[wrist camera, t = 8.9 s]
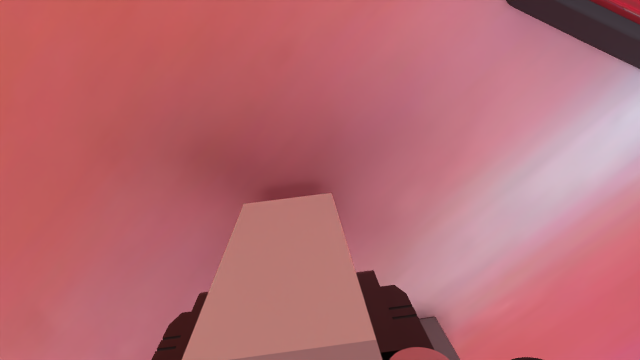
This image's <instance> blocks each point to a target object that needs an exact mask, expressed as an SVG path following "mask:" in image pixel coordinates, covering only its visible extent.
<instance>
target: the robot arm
mask: <svg viewBox="0 0 640 360" xmlns="http://www.w3.org/2000/svg"><path fill="white" fill-rule="evenodd" d="M356 275H357V278H358V281H359V285H360V288H361V291H362V294H363V298H364V301H365V304H366V308H367V311H368V314H369V317H370V321H371V324H372V327H373V331H374V334H375V337H376V340H377V344H378V347H379V350H380V354H381V357H382V360H449V359H448V358H447V357H446V356H445V355H443V354H441V353H440V352H438V351H435V350H434V348H433V346H432V344H431V342H430V340H429V338H428V336H427V334H426V332H425V330H424V328H423V326H422V324H421V322H420V320H419V318H418V316H417V314H416V312H415V310H414V308H413V307H412V304H411V302H410V300H409V298H408V296H407V294H406V293H405V292H403V291H402V290H401V289H399V288H398V287H396V286H395V285H390V286H382V287H380V285H379V283H378V280H377V278H376V275H375V273H374V271H373V270H372V271H364V272H357V273H356ZM207 295H208V292H203V293H200V294H199V296H198V298H197V300H196V302H195V305H194V307H193V309H192V312H185V313H181V314H180V315H179V316H178V317H177V318H176V319H175V320H174V321H173V322H172V323H171V324H170V325H169V326H168V328H167V330H166V332H165V334H164V336H163V340H161V342H160V344H159V346H158V348H157V351H156V352H155V354H154V356H153V358H152V360H182V358H183V355H184V353H185V350H186V348H187V345H188V343H189V340H190V338H191V335H192V333H193V330H194V328H195V325H196V323H197V320H198V318H199V315H200V312H201V310H202V307H203V305H204V302H205V300H206V297H207ZM512 360H542V359H538V358H530V357H522V358H515V359H512Z"/></svg>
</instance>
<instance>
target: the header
mask: <svg viewBox="0 0 640 360" xmlns="http://www.w3.org/2000/svg"><path fill="white" fill-rule="evenodd" d="M419 320H420V322H421V324H422V326H423V328H424V330H425V332H426V334H427V336H428V338H429V340H430V342H431V344H432V346H433V348H434V350H435V351H438V352H440V353H441V354H443V355H445V356H446V357H447V358H448V359H449V360H460V359H459V357H458V355H457V353H456V352H455V350H454V348H453V347H452V345H451V343H450V341H449V340H448V338H447V336H446V335H445V333H444V331H443V329H442V328H441V326H440V324H439V323H438V321H437V319H436V317H432V318H425V319H419Z"/></svg>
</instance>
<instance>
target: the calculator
mask: <svg viewBox="0 0 640 360" xmlns="http://www.w3.org/2000/svg"><path fill="white" fill-rule="evenodd" d="M506 1H507V2H508V4H509V5H511V6H513V7H514V8H516V9H518V10H520V11H522V12H524V13H526V14H528V15H530V16H532V17H534V18H536V19H539V20H541V21H543V22H545V23H547V24H549V25H551V26H553V27H555V28H557V29H559V30H561V31H563V32H565V33H567V34H569V35H571V36H573V37H575V38H577V39H579V40H581V41H583V42H585V43H587V44H589V45H591V46H593V47H595V48H598V49H600V50H602V51H604V52H606V53H608V54H610V55H612V56H614V57H617V58H619V59H621V60H623V61H625V62H627V63H629V64H631V65H634V66H636V67H638V68H640V0H506Z"/></svg>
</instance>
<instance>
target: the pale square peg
mask: <svg viewBox="0 0 640 360" xmlns="http://www.w3.org/2000/svg"><path fill="white" fill-rule="evenodd" d="M182 360H382V357H381V354H380V350H379V347H378V344H377V340H376V337H375V334H374V331H373V327H372V324H371V321H370V317H369V314H368V311H367V308H366V304H365V301H364V298H363V294H362V291H361V288H360V285H359V281H358V278H357V275H356V271H355V268H354V265H353V261H352V258H351V255H350V252H349V248H348V245H347V242H346V238H345V235H344V232H343V229H342V225H341V222H340V219H339V215H338V212H337V209H336V206H335V202H334V199H333V196H332V193H325V194H318V195H310V196H302V197H294V198H286V199H278V200H270V201H262V202H254V203H246V204H243V207H242V209H241V212H240V214H239V217H238V219H237V222H236V224H235V227H234V229H233V232H232V234H231V237H230V239H229V242H228V244H227V247H226V249H225V252H224V254H223V257H222V259H221V262H220V265H219V267H218V270H217V272H216V275H215V277H214V280H213V282H212V285H211V287H210V290H209V292H208V295H207V297H206V300H205V302H204V305H203V307H202V310H201V312H200V315H199V318H198V320H197V323H196V325H195V328H194V330H193V333H192V335H191V338H190V340H189V343H188V345H187V348H186V350H185V353H184V355H183V358H182Z"/></svg>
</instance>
